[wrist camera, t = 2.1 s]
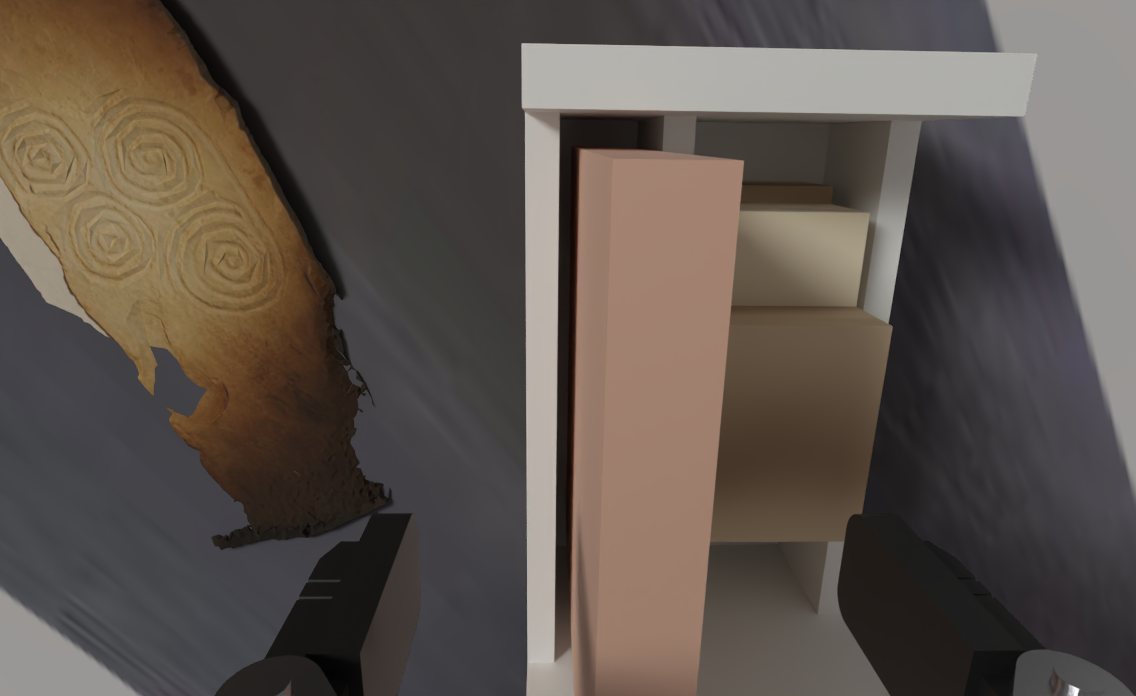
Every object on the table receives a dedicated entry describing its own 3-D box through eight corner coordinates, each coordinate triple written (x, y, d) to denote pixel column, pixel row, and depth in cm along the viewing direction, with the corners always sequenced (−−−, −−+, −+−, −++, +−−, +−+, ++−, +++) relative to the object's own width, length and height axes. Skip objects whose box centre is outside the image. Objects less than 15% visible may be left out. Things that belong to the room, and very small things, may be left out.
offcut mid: (696, 202, 20) (717, 211, 17) (831, 204, 20) (870, 212, 17) (677, 477, 22) (692, 517, 20) (795, 477, 22) (825, 517, 20)
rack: (531, 81, 22) (521, 43, 13) (846, 86, 22) (1037, 53, 13) (532, 557, 27) (525, 751, 19) (785, 555, 27) (894, 745, 19)
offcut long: (681, 179, 22) (697, 184, 19) (802, 181, 22) (833, 186, 20) (661, 504, 25) (672, 542, 23) (765, 504, 26) (787, 541, 23)
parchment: (-218, -84, 20) (-251, -93, 19) (56, -240, 19) (33, -257, 18) (233, 557, 27) (223, 571, 27) (448, 472, 26) (444, 483, 26)
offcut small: (709, 305, 18) (728, 325, 16) (856, 306, 18) (892, 326, 16) (693, 502, 20) (709, 541, 18) (827, 502, 20) (857, 541, 18)
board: (571, 146, 21) (612, 158, 8) (621, 146, 21) (744, 160, 8) (565, 527, 26) (586, 952, 12) (607, 527, 26) (673, 950, 12)
